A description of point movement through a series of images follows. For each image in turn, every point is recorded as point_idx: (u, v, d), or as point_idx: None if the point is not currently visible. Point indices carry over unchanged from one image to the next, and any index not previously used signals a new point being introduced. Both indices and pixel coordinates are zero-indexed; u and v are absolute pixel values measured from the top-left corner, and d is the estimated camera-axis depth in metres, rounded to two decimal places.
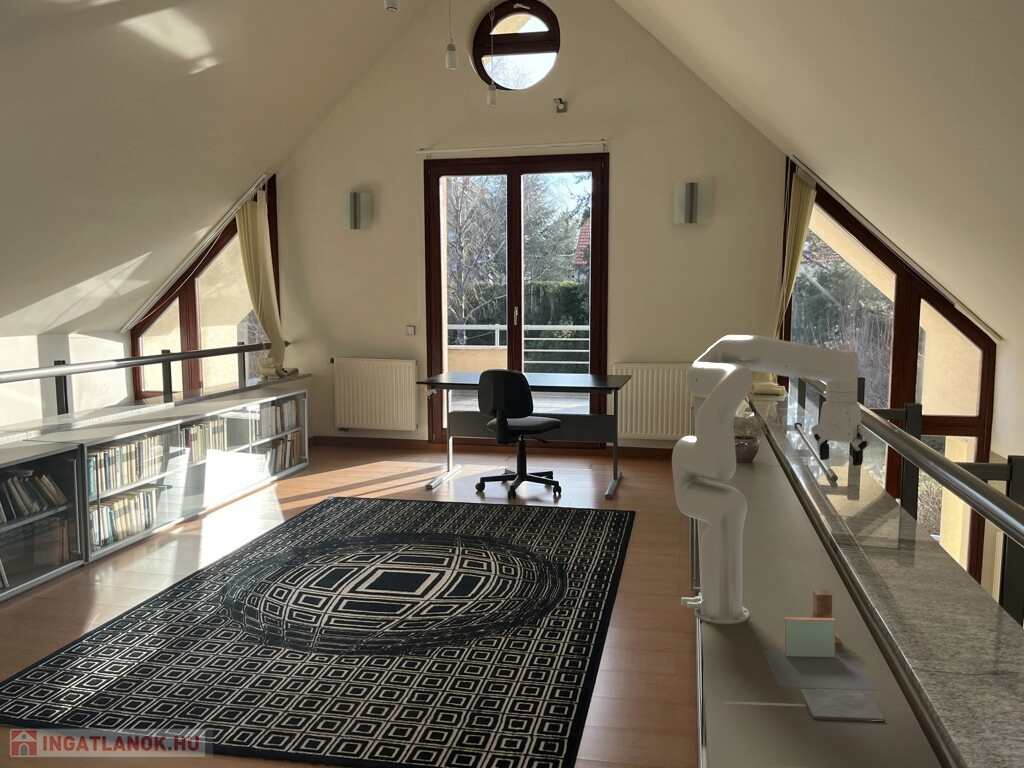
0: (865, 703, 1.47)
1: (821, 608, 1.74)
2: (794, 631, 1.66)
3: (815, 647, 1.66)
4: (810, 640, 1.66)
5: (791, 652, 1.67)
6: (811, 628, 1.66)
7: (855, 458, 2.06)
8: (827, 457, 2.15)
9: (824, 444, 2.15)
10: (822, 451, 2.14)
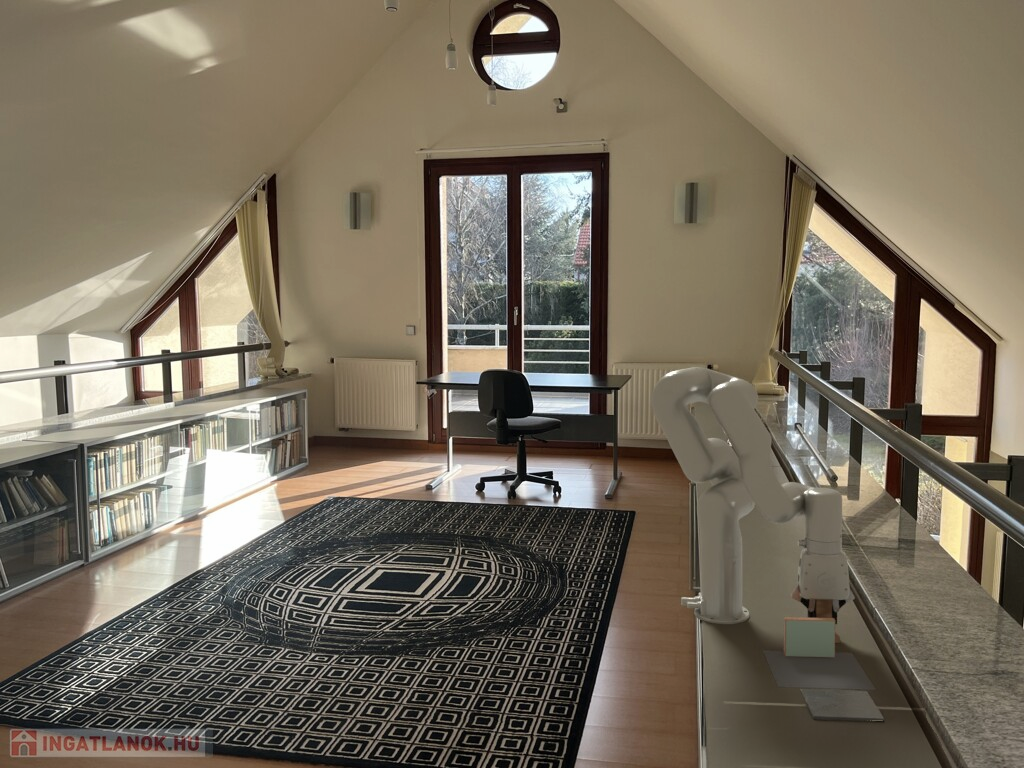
0: (865, 703, 1.47)
1: (820, 608, 1.74)
2: (794, 631, 1.66)
3: (815, 647, 1.66)
4: (810, 640, 1.66)
5: (791, 652, 1.67)
6: (811, 628, 1.66)
7: None
8: None
9: (814, 609, 1.76)
10: None
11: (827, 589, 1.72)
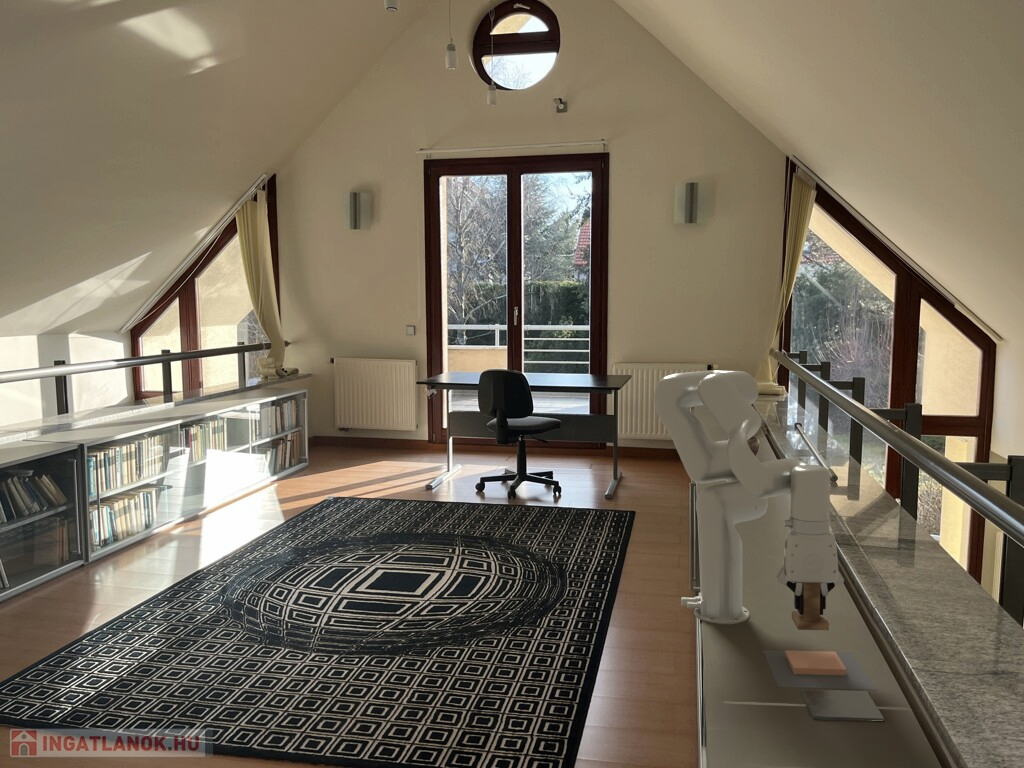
0: (865, 703, 1.47)
1: (808, 592, 1.65)
2: None
3: None
4: None
5: None
6: None
7: (822, 605, 1.65)
8: None
9: (801, 593, 1.66)
10: (803, 603, 1.65)
11: (815, 571, 1.63)
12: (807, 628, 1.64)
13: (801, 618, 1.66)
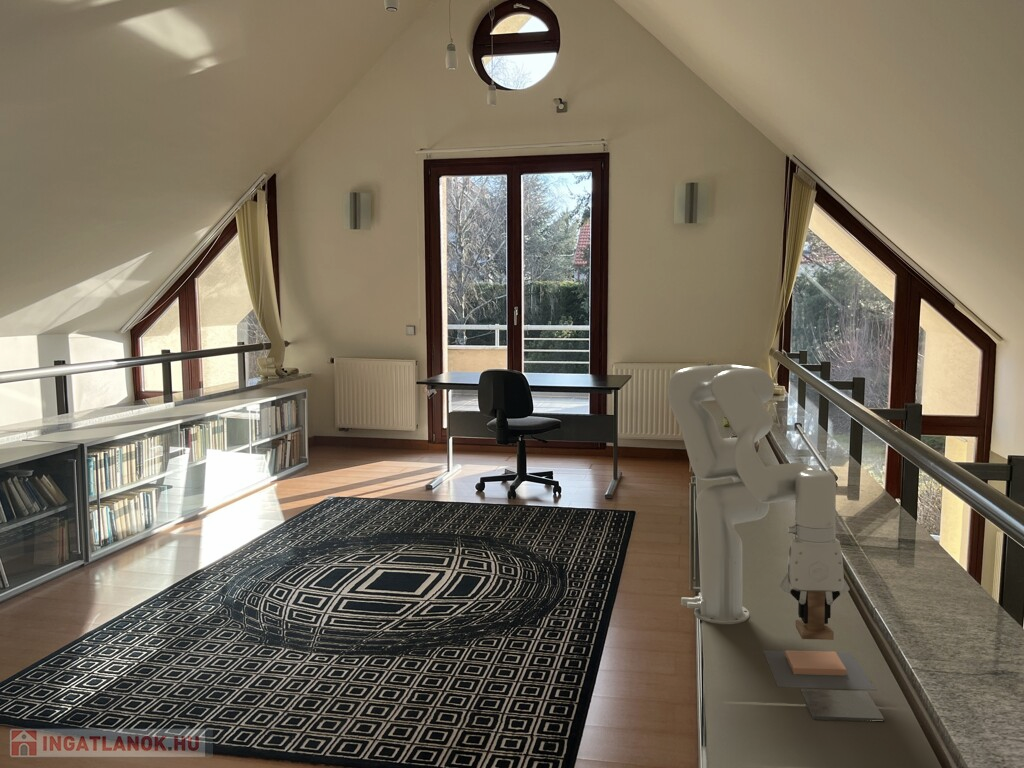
0: (865, 703, 1.47)
1: (812, 600, 1.60)
2: None
3: None
4: None
5: None
6: None
7: None
8: None
9: None
10: (807, 612, 1.61)
11: (819, 580, 1.59)
12: (811, 637, 1.60)
13: (805, 627, 1.62)
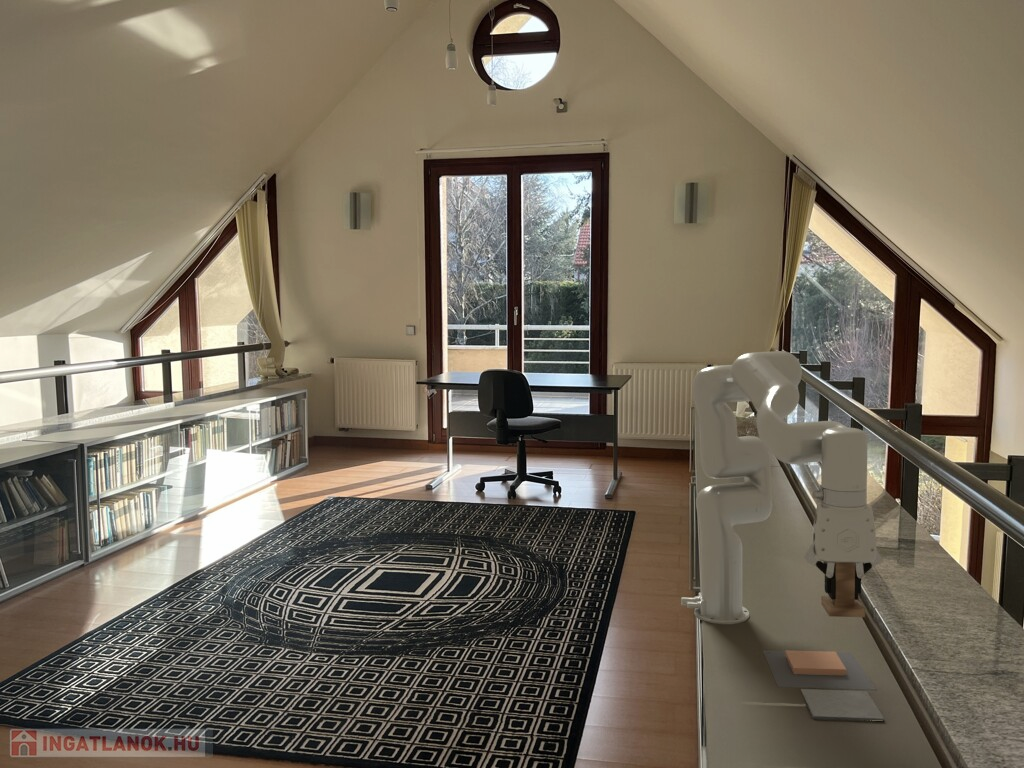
0: (865, 703, 1.47)
1: (841, 573, 1.43)
2: None
3: None
4: None
5: None
6: None
7: (857, 589, 1.43)
8: None
9: None
10: (835, 586, 1.44)
11: (849, 550, 1.41)
12: (840, 615, 1.42)
13: (833, 603, 1.45)
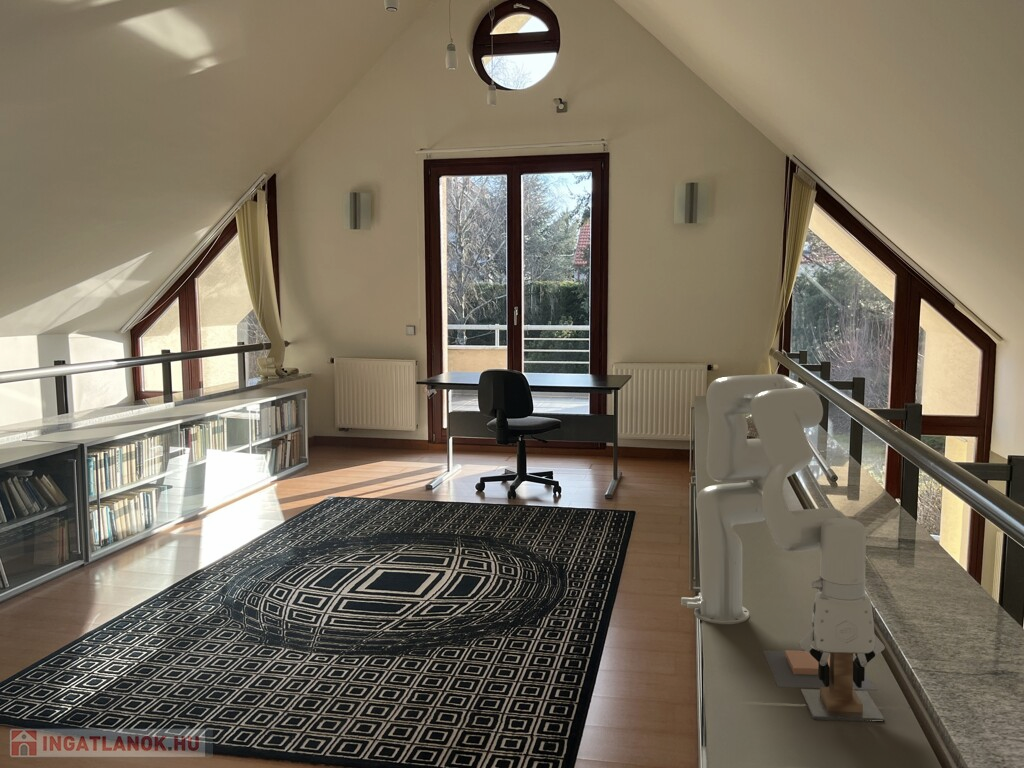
0: (865, 703, 1.47)
1: (839, 668, 1.45)
2: None
3: None
4: None
5: None
6: None
7: None
8: None
9: None
10: (828, 674, 1.46)
11: (848, 641, 1.43)
12: (838, 709, 1.44)
13: (831, 697, 1.47)
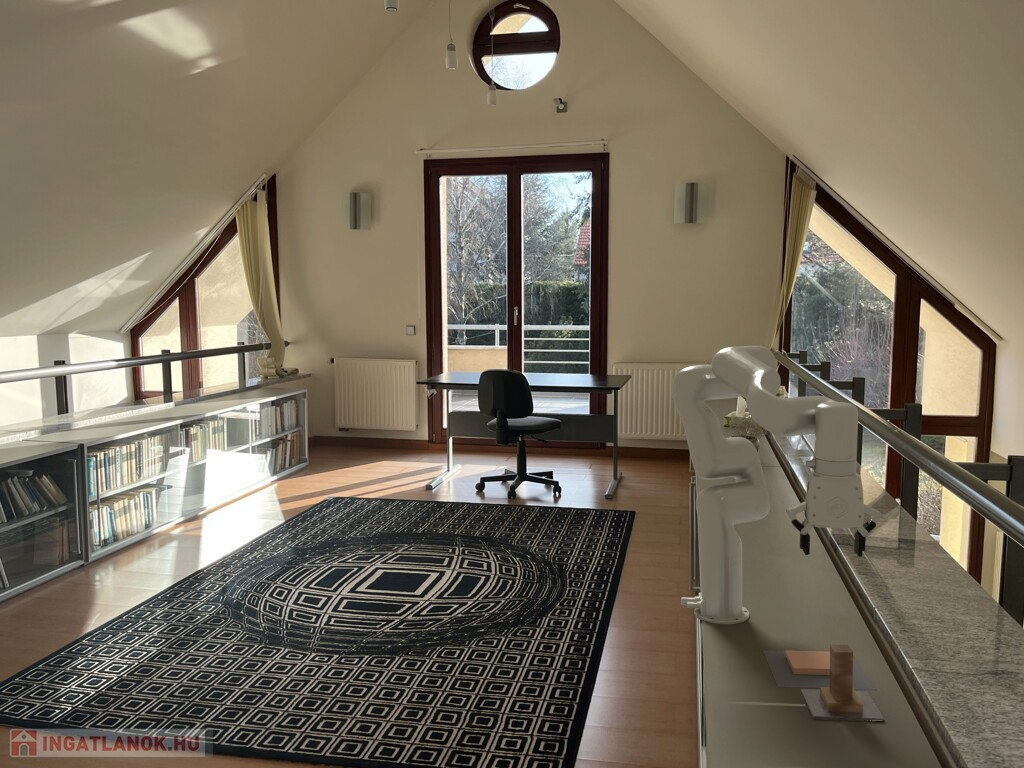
0: (865, 703, 1.47)
1: (839, 668, 1.45)
2: None
3: None
4: None
5: None
6: None
7: None
8: None
9: (807, 532, 1.55)
10: (809, 543, 1.54)
11: (838, 516, 1.51)
12: (838, 709, 1.44)
13: (831, 697, 1.47)
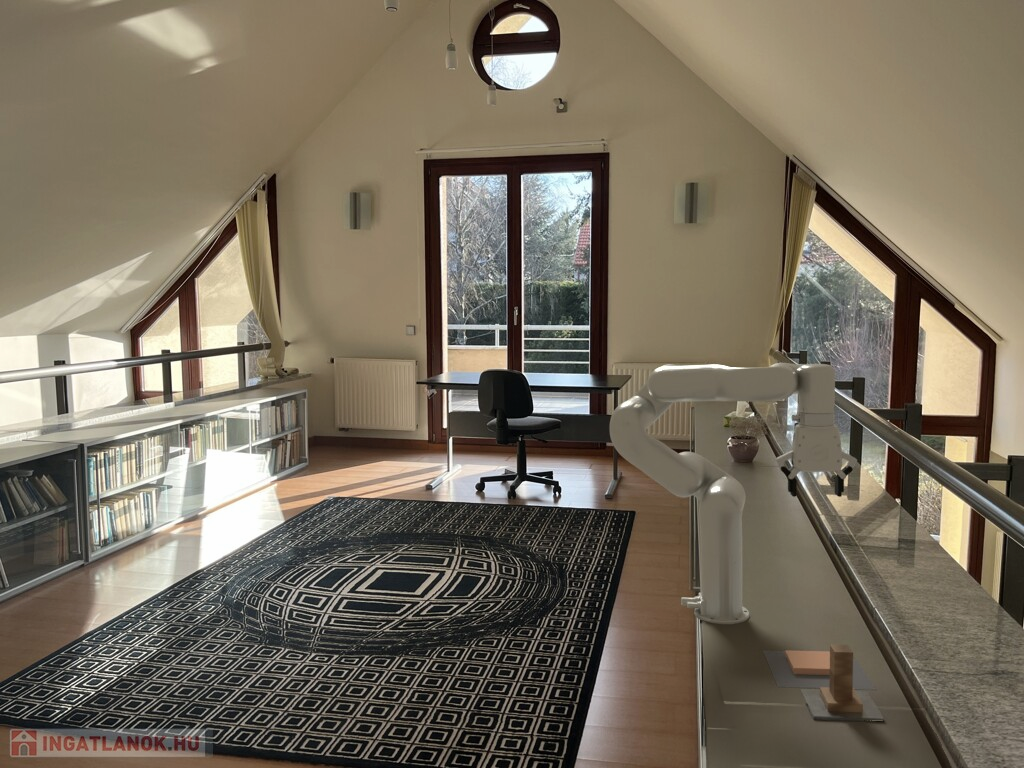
0: (865, 703, 1.47)
1: (839, 668, 1.45)
2: None
3: None
4: None
5: None
6: None
7: None
8: None
9: (794, 477, 1.80)
10: None
11: (820, 461, 1.76)
12: (838, 709, 1.44)
13: (831, 697, 1.47)
